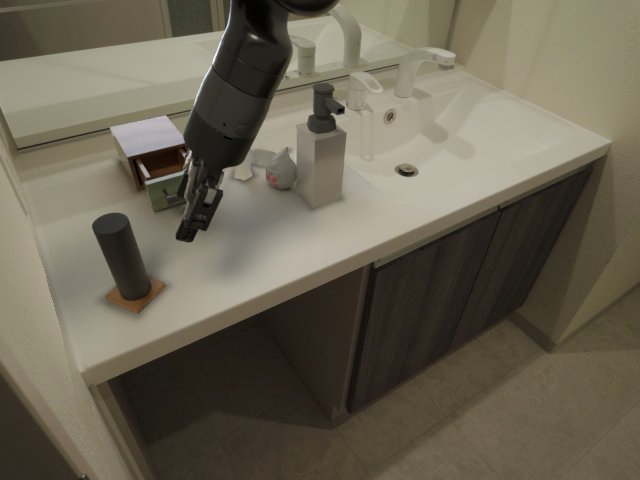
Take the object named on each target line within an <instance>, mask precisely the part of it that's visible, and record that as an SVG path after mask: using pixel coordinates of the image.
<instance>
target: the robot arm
mask: <svg viewBox="0 0 640 480" xmlns="http://www.w3.org/2000/svg"><path fill="white" fill-rule="evenodd" d="M340 1H341V0H230V5H229V6H230V7H229V15H228V21H227V25H226V28H225V30H224V32H223V34H222V37H221V39H220V42H219V43H218V47H217V49H216V52H215V54H214V57H213V59H212V62H211V65H210V66H209V68H208V70H207V71H206V74H205V76H204V78H203V80H202V81H201V84H200V87H199V89H198V92H197V94H196V96H195V100H194V102H193V106H191V107H192V108H191V110H190V113H189V116H188V118H187V121H186V123H185V126H184V128H183V132H182V136H183V139H184V142H185V144H186V145H187V147H188V148H189V149H188V151H187V153H186V154H185V166H184V167H183V169H184V171H183V172H185V173H184V174H183V176H182V179H181V181H180V184H179V186H178V188H177V196H179V197H182V198H185V200H186V201H185V202H186V204H185V209H184V212H183V214H182V218H181V220H180V222H179V225H178V228H177V229H176V231H175V237H174V238H175V240H176V241H178V242H184V243H193V242H194V240H195V238H196V236H197V234H198V231H202V232H207V231H208V229H209V227H210V224H211V223H212V221H213V219H214V216H215V214H216V211H217V209H218V207H219V205H220V203H221V201H222V199H223V197H224V190H223V189H220V188H219V187H220V185H221V184H223V180H224V176H225V171H224V170H225V169H228V168H235V166H238V165H240V164H241V163H243V161H244V160H245V158H246V156H247V154H248V152H249V150H251V148H252V146H253V144H254V142H255V141H256V138H257V136H258V134H259V132H260V130H261V128H262V126H263V124H264V122H265V120H266V118H267V116H268V114H269V110H270V108H271V104H272V101H273V99H274V98H275V94H276V92H277V90H278V89H279V86H280V85H281V83H282V81H283V78H284V77H285V74H286V72H287V71H288V68H289V66H290V64H291V61H292V59H293V54H294V46H293V43H292V40H291V37H290V34H289V29H288V21H289V18H290V15H293V16H295V17H296V16H297V17H299V18H307V19H311V18H317V17H320V16H323V15H325V14H328V13H329V12H331V11H332V10H333V9H334V8H335V7H336V6H338V4H339V3H340ZM195 191H197V192H196V196H194V193H195Z"/></svg>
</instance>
